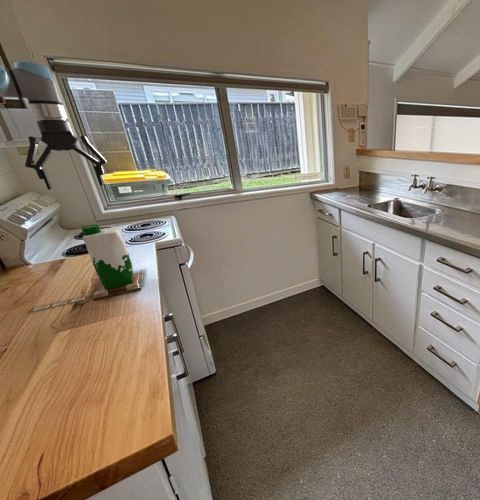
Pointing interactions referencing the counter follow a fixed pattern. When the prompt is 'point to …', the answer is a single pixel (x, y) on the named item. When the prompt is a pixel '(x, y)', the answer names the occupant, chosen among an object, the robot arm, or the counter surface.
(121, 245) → the soya milk
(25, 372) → the counter surface
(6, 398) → the counter surface
